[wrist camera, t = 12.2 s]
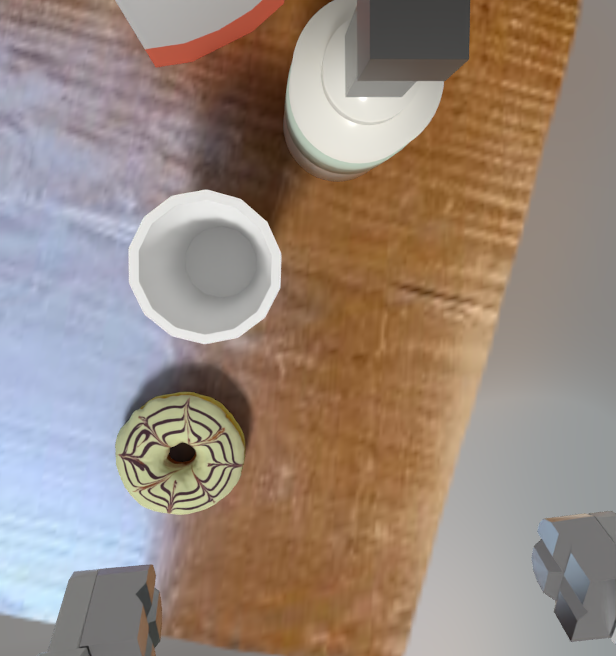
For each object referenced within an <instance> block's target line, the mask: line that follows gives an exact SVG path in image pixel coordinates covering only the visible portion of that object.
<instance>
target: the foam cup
mask: <svg viewBox="0 0 616 656" xmlns="http://www.w3.org/2000/svg"><path fill="white" fill-rule="evenodd" d="M280 281H281V252H280V250H279V247H278V245H277V243H276V241H275V238H274V236H273V234H272V231H271V229H270V227H269V225H268V222H267V221H266V220H264V219H263V218H262V217H261V216H260V215H259V214H258V213H256V212H255V211H254V210H253V209H252V208H251V207H249V206H248V205H247V204H246V203H245V202H244V201H243V200H241V199H239V198H236V197H232V196H229V195H225V194H221V193H218V192H214V191H211V190H207V189H206V190H200V191H195V192H190V193H184V194H179V195H174V196H171V197H170V198H168V199H167V200H166V201H164V202H163V203H162V204H160V205H159V206H158V207H156V208H155V209H154V210H152V211H151V212H150V213H149V214H147V215H146V216H145V217H144V218H143V220H142V222H141V224H140V226H139V228H138V230H137V232H136V234H135V236H134V238H133V240H132V243H131V245H130V247H129V284H130V286H131V288H132V290H133V292H134V294H135V296H136V298H137V300H138V302H139V304H140V306H141V308H142V310H143V312H144V314H145V315H146V316H147V317H148V318H150V319H151V320H152V321H153V322H155V323H156V324H157V325H158V326H160V327H161V328H162V329H163V330H165V331H166V332H167V333H168V334H170V335H171V336H173V337H178V338H182V339H186V340H190V341H194V342H198V343H202V344H208V343H213V342H218V341H224V340H229V339H234V338H238V337H240V336H241V335H242V334H244V333H245V332H246V331H248V330H249V329H250V328H252V327H253V326H254V325H256V324H257V323H258V322H260V321H261V320H262V319H264V318H265V316H266V314H267V312H268V311H269V309H270V307H271V305H272V303H273V301H274V299H275V297H276V295H277V293H278V291H279V289H280Z"/></svg>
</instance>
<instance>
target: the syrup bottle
mask: <svg viewBox="0 0 616 656" xmlns="http://www.w3.org/2000/svg"><path fill="white" fill-rule="evenodd" d="M443 86H444V81H357V0H334V1H332V2H330V3H328V4H327V5H325V6H324V7H323V8H321V9H320V10H319V11H318V12H317V13H316V14H315V15H314V16H313V17H312V18H311V19H310V21H309V22H308V23H307V24H306V26H305V28H304V29H303V31H302V33H301V35H300V37H299V39H298V41H297V44H296V47H295V51H294V55H293V61H292V64H291V67H290V71H289V76H288V82H287V89H286V96H285V108H284V111H285V112H284V119H283V129H284V136H285V141H286V144H287V147H288V149H289V151H290V153H291V155H292V156H293V158H294V159H295V161H296V162H297V163H298V164H299V165H300V166H301V167H302V168H303V169H304V170H305V171H307V172H308V173H310V174H311V175H313V176H315V177H318V178H320V179H323V180H328V181H338V182H339V181H347V180H352V179H355V178H357V177H360V176H361V175H363V174H365V173H366V172H368V171H369V170H371V169H373V168H375V167H377V166H379V165H380V164H382V163H383V162H384V161H386V160H387V159H389V158H390V157H392V156H393V155H395V154H396V153H397V152H399V151H400V150H401V149H403V148H404V147H405V146H406V145H407V144H408V143H409V142H410V141H412V140H413V139H414V138H415V137H417V136H418V135H419V134H420V133H421V132H422V131H423V130H424V128H425V127H426V126H427V125H428V124H429V122H430V120H431V119H432V117H433V116H434V114H435V112H436V110H437V107H438V105H439V102H440V99H441V96H442V91H443Z"/></svg>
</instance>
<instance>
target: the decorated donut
mask: <svg viewBox="0 0 616 656" xmlns="http://www.w3.org/2000/svg"><path fill="white" fill-rule="evenodd" d="M181 442H184V443H187V444H189V445H190V446H192V447H193V448H194V449H195V450H196V452H195V455H194V457H193V458H192V459H191V460H190V461H186V462H176V461H175V460H174V459H172V458H171V457H170V456H169V452H170V447H173V446H176V445H178V444H179V443H181ZM115 448H116V465H117V469H118V472H119V475H120V477H121V480H122V482H123V484H124V486H125V488H126V489H127V490H128V492H129V493H130V495H131V496H132V497H133V498H134V499H135V500H136V501H137V502H138V503H139V504H140V505H142V506H143V507H145V508H148V509H151V510H153V511H157V512H162V513H169V514H178V515H183V514H190V513H194V512H198V511H201V510H204V509H207V508H209V507H211V506H213V505H214V504H216V503H217V502H218V501H220V500H221V499H222V498H224V497H225V496H226V495H227V494H229V493H230V492H231V490H232V489H233V487H234V486H235V485H236V484H237V482H238V481H239V479H240V476H241V472H242V469H243V465H244V460H245V438H244V434H243V432H242V430H241V428H240V426H239V424H238V423H237V422H236V420H235V419H234V417H233V415H232V414H231V413H230V412H229V411H228V410H227V409H226V408H225V406H224V405H223V404H221V403H220V402H218V401H216V400H215V399H213V398H211V397H208V396H204V395H200V394H197V393H195V392H178V393H174V394H167V395H161V396H156V397H154V398H152V399H151V400H149V401H148V402H146V404H145V405H144V406H142V407H141V408H140V409H138V410H135V411H134V412H133V414H132V415H131V417H130V419H129V421H127V422H126V424H125V425H124V426H123V427H122V428H121V429H120V431H119V433H118V435H117V439H116V444H115Z"/></svg>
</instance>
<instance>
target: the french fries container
mask: <svg viewBox="0 0 616 656" xmlns="http://www.w3.org/2000/svg"><path fill="white" fill-rule="evenodd" d="M115 1H116V2H117V4H118V6H119V7H120V9H121V11H122V12H123V14H124V15H125V17H126V19H127V20H128V22H129V24H130V25H131V27H132V29H133V30H134V32H135V34H136V35H137V37H138V39H139V40H140V42H141V43H142V45H143V47H144V48H145V50H146V52H147V53H148V55H149V57H150V58H151V60H152V62H153V63H154V65H155V67H161V66H168V65H174V64H181V63H187V62H193V61H195V60H197V59H199V58H201V57H203V56H205V55H207V54H209V53H211V52H213V51H215V50H217V49H219V48H221V47H223V46H225V45H227V44H229V43H231V42H233V41H235V40H237V39H239V38H241V37H243V36H245V35H247V34H249V33H251V32H253V31H254V30H255V29H256V28H257V27H258V26H259V25H260V24H262V23H263V22H264V21H265V20H266V19H267V18H268V17H269V16H270V15H271V14H273V13H274V12H275V11H276V10H277V9H278V8H279V7H280V6H281V5H283V4H284V0H115Z"/></svg>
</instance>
